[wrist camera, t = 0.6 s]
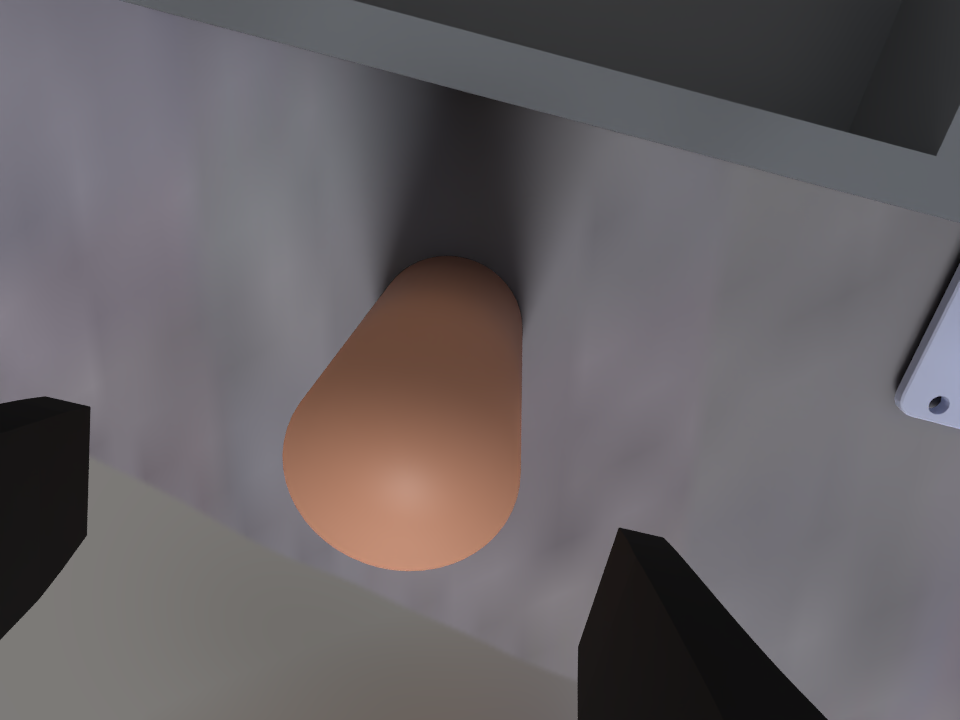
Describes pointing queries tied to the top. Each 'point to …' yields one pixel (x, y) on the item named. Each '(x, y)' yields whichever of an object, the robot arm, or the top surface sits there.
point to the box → (679, 74)
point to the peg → (415, 422)
